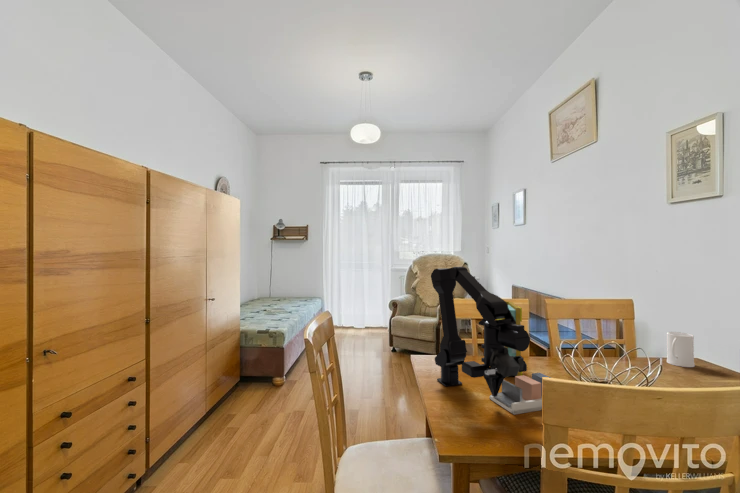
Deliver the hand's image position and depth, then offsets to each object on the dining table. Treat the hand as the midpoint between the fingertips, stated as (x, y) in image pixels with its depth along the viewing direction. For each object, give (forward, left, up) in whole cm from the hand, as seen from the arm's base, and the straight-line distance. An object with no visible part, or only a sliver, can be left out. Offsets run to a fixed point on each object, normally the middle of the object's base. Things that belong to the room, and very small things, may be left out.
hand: (494, 396), depth 103 cm
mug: (-10, +94, -3) cm, 95 cm away
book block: (0, +12, -2) cm, 12 cm away
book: (-25, +25, -3) cm, 36 cm away
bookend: (0, +4, -2) cm, 5 cm away
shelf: (+1, +11, -3) cm, 12 cm away
